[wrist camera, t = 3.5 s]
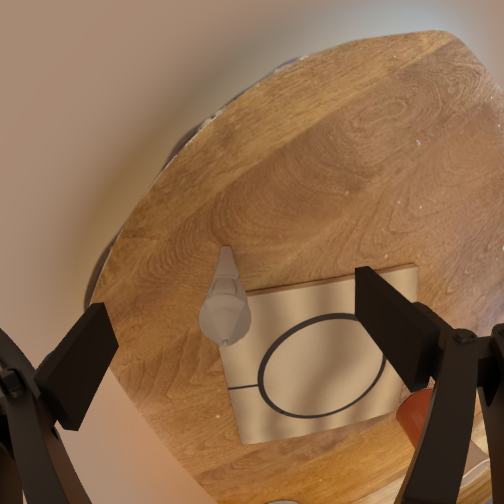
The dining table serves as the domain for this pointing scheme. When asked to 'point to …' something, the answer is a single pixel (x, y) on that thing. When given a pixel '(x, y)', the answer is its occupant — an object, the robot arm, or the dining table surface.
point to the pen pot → (414, 414)
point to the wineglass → (283, 502)
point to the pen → (225, 304)
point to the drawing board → (310, 360)
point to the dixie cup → (474, 464)
